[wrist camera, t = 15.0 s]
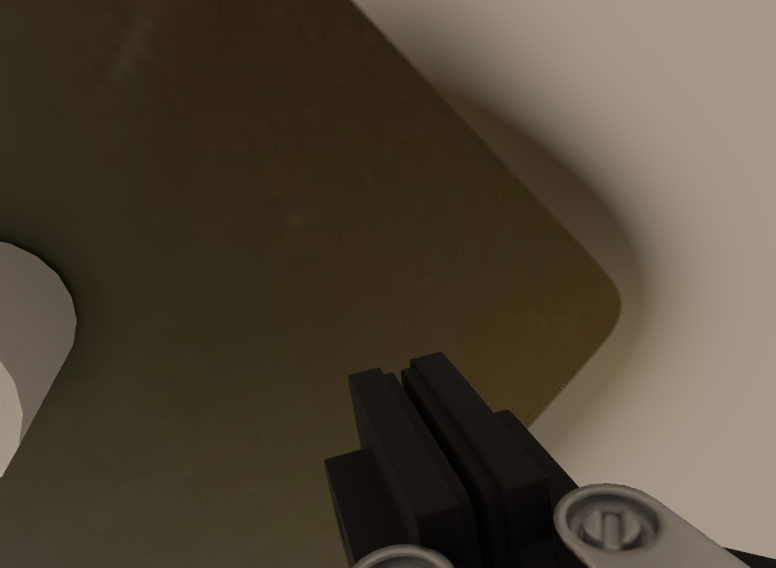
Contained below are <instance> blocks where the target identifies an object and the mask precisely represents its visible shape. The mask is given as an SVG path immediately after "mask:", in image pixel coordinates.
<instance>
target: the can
mask: <svg viewBox="0 0 776 568" xmlns="http://www.w3.org/2000/svg"><path fill="white" fill-rule="evenodd" d="M76 323H77V320H76V316H75V311H74V306H73V302H72V297H71V295H70V294H69V292H68V291H67V289H66V287H65V286H64V284H63V282H62V281H61V279H60V277H59V276H58V274H56V273H55V272H54V271H53V270H52V269H51V268H50V267H48V266H47V265H46V264H45V263H44V262H43V261H42V260H40V259H39V258H38V257H37V256H35V255H33V254H31V253H29V252H27V251H24V250H22V249H20V248H18V247H16V246H14V245H12V244H9V243H4V242H0V477H1V476H2V475H3V474H4V472H5V470H6V468H7V466H8V465H9V463H10V461H11V459H12V457H13V456H14V454H15V452H16V450H17V448H18V447H19V445H20V443H21V441H22V439H23V437H24V435H25V434H26V432H27V430H28V428H29V426H30V424H31V422H32V421H33V419H34V417H35V415H36V413H37V411H38V409H39V408H40V406H41V404H42V402H43V400H44V398H45V396H46V395H47V393H48V391H49V389H50V387H51V385H52V383H53V382H54V380H55V378H56V376H57V374H58V372H59V370H60V369H61V367H62V365H63V363H64V361H65V359H66V357H67V356H68V354H69V352H70V350H71V348H72V346H73V343H74V336H75V329H76Z"/></svg>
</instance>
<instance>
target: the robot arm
mask: <svg viewBox="0 0 776 568" xmlns="http://www.w3.org/2000/svg"><path fill="white" fill-rule="evenodd" d="M401 379H402V386H403V387H402V386H401V384H400V382H399V381H398V379H397V378H396V376H395V374H394V373H393V372H392V373H388V374H385V375H384V374H383V372H382V371H381V369H380V368H375V369H371V370H367V371H363V372H359V373H355V374H351V375H348V380H349V387H350V392H351V397H352V403H353V408H354V413H355V419H356V424H357V429H358V434H359V440H360V445H361V450H357V451H354V452H350V453H347V454H343V455H339V456H336V457H332V458H328V459H325V460H324V463H325V468H326V473H327V478H328V483H329V488H330V492H331V497H332V502H333V506H334V511H335V515H336V519H337V523H338V527H339V532H340V535H341V539H342V543H343V547H344V551H345V554H346V558H347V561H348V565H349V568H776V559H771V558H767V557H763V556H759V555H755V554H750V553H746V552H741V551H737V550H733V549H728V548H724V547H721V546H720V545H718V544H717V543H716V542H715V541H713V540H712V539H710V538H709V537H708V536H706V535H705V534H703V533H702V532H701V531H699V530H698V529H697V528H695V527H694V526H692V525H691V524H690V523H688V522H687V521H686V520H684V519H682V518H681V517H680V516H679V515H677V514H676V513H675V512H673V511H672V510H670V509H669V508H668V507H666V506H665V505H663V504H662V503H661V502H659V501H658V500H657V499H655V498H653V497H652V496H650V495H648V494H646V493H644V492H643V491H641V490H638V489H634V488H631V487H628V486H625V485H618V484H609V483H604V484H591V485H587V486H584V487H580V488H579V487H578V486H577V484H576V483H575V482H574V481H573V480H572V479H571V478H570V477H569V476H568V474H567V473H566V472H565V471H564V470H563V469H562V468H561V467H560V466H559V465H558V463H557V462H556V461H555V460H554V459H553V458H552V457H551V456H550V454H549V453H548V452H547V451H546V450H545V449H544V448H543V447H542V446H541V445H540V443H539V442H538V441H537V440H536V439H535V438H534V437H533V436H532V434H531V433H530V432H529V431H528V430H527V429H526V428H525V427H524V426H523V424H522V423H521V422H520V421H519V420H518V419H517V418H516V417H515V416H514V414H512V413H511V412H510V411H509V410H502V411H499V412H495V413H493V412H492V411H491V409H490V408H489V407H488V406H487V405H486V403H485V402H484V401H483V400H482V399H481V397H480V396H479V395H478V394H477V393H476V392H475V390H474V389H473V388H472V387H471V386H470V384H469V383H468V382H467V381H466V380H465V379H464V377H463V376H462V375H461V374H460V373H459V371H458V370H457V369H456V368H455V367H454V365H453V364H452V363H451V362H450V361H449V360H448V358H447V357H446V356H445V355H444V354H443V353H442V352H438V353H434V354H430V355H426V356H422V357H418V358H414V359H411V361H410V368H408V369H404V370H401Z"/></svg>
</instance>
